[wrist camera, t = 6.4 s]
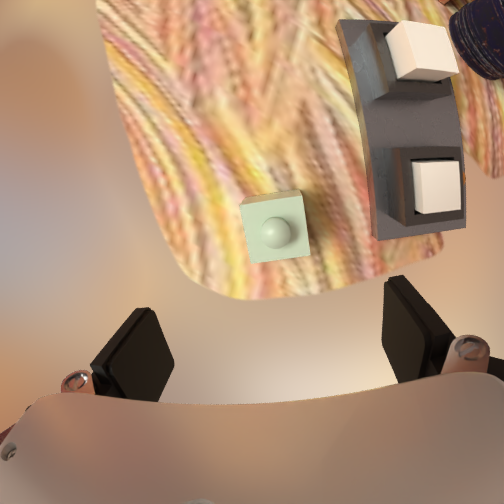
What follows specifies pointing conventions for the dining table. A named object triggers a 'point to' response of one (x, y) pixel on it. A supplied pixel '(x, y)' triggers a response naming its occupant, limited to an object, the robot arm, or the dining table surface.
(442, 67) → the breaker button
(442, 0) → the orange fan heater
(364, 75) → the breaker board
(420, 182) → the tagged breaker button
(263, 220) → the cap
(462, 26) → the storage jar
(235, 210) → the dining table surface
